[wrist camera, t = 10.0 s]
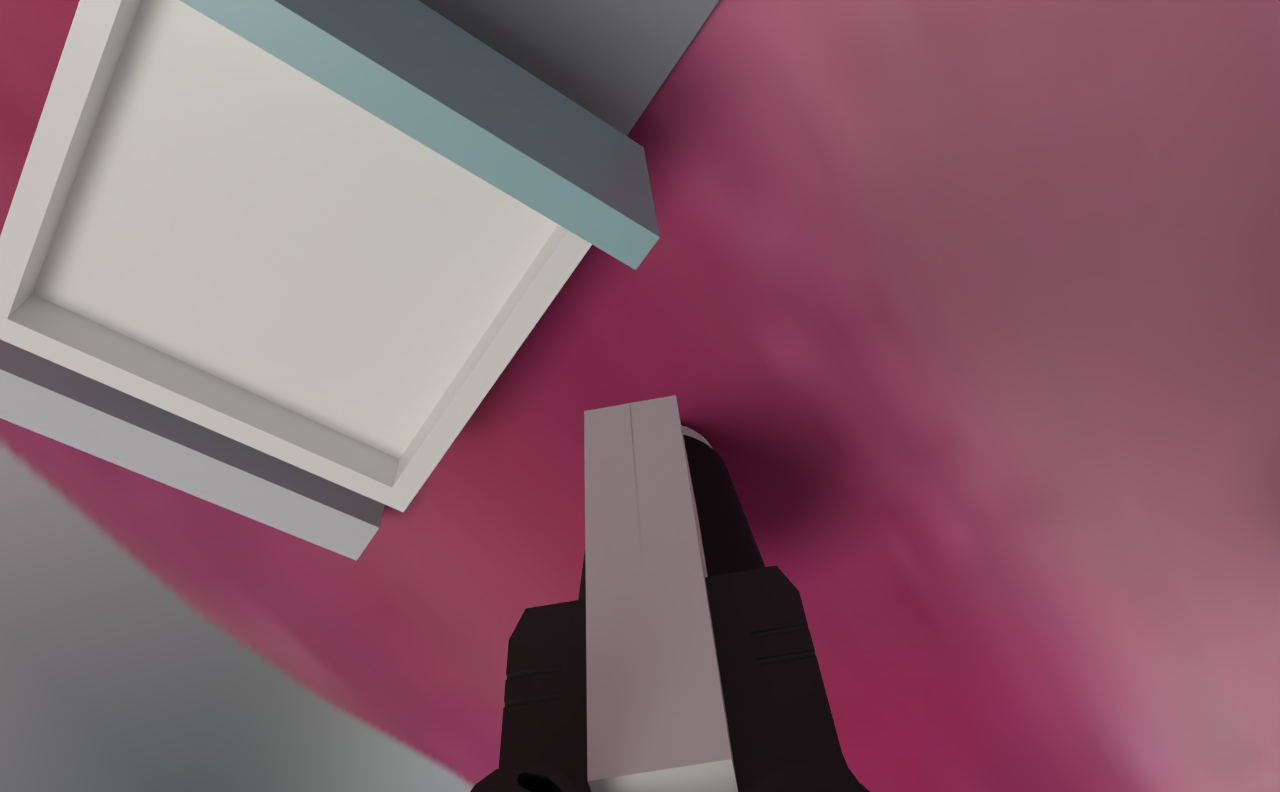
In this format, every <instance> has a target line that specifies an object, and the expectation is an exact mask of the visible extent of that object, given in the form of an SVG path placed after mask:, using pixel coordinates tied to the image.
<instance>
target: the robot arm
mask: <svg viewBox="0 0 1280 792" xmlns="http://www.w3.org/2000/svg"><path fill="white" fill-rule="evenodd" d="M584 450H585V559H586V599H582V600H576V601H570V602H564V603H558V604H551V605H545V606H539V607H533V608H527V609H525V611H524V613H523V615H522V617H521V619H520V620H519V622H518V624H517V626H516V628H515V630H514V632H513V633H512V635H511V637H510V639H509V645H508V658H507V671H506V674H507V680H506V683H505V696H504V702H505V707H504V709H503V722H502V734H501V747H500V760H499V769H496V770H495V771H493V772H492V773H491V774H489V775H488V776H487V777H485V778H484V779H483V780H481V781H480V782H479V783H477V784H476V785H475V786H474V787H473V789H472V790H471V791H470V792H870V791H869V790H867V789H866V788H865V787H864V786H863V785H861V784H860V783H859V782H858V780H857V779H856V778H855V776H854V775H853V774H852V772H851V771H850V770H849V768H848V766H847V764H846V761H845V759H844V756H843V754H842V752H841V748H840V744H839V740H838V736H837V733H836V729H835V725H834V721H833V718H832V714H831V710H830V706H829V703H828V699H827V695H826V691H825V688H824V684H823V680H822V676H821V673H820V669H819V665H818V661H817V658H816V655H815V650H814V646H813V642H812V639H811V635H810V631H809V629H808V624H807V620H806V616H805V612H804V609H803V605H802V601H801V597H800V594H799V591H798V590H797V589H796V587H795V586H794V585H793V584H792V583H791V582H790V581H789V579H788V578H787V577H786V576H785V575H784V574H783V573H782V571H781V570H780V569H779V568H778V567H777V566H772V567H765V568H759V569H753V570H747V571H741V572H735V573H729V574H722V575H716V576H710V577H708V576H707V570H706V563H705V557H704V551H703V545H702V538H701V532H700V526H699V519H698V514H697V509H696V503H695V498H694V492H693V487H692V481H691V476H690V470H689V465H688V459H687V454H686V449H685V443H684V438H683V432H682V427H681V421H680V416H679V410H678V405H677V400H676V395H674V396H669V397H663V398H657V399H651V400H646V401H640V402H634V403H628V404H623V405H617V406H611V407H605V408H600V409H594V410H588V411H584Z"/></svg>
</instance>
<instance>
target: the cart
mask: <svg viewBox="0 0 1280 792" xmlns="http://www.w3.org/2000/svg"><path fill="white" fill-rule="evenodd" d="M659 238H660V235H659V230H658V224H657V219H656V213H655V207H654V202H653V196H652V191H651V185H650V180H649V174H648V169H647V163H646V157H645V152H644V147H642V146H641V145H639V144H638V143H636V142H635V141H633V140H632V139H630V138H629V137H627V136H625V135H624V134H622V133H621V132H619V131H618V130H616V129H615V128H613V127H612V126H610V125H609V124H607V123H606V122H604V121H602V120H601V119H599V118H598V117H596V116H595V115H593V114H592V113H590V112H589V111H587V110H586V109H584V108H583V107H581V106H579V105H578V104H576V103H575V102H573V101H572V100H570V99H569V98H567V97H566V96H564V95H563V94H561V93H560V92H558V91H556V90H555V89H553V88H552V87H550V86H549V85H547V84H546V83H544V82H543V81H541V80H540V79H538V78H537V77H535V76H533V75H532V74H530V73H529V72H527V71H526V70H524V69H523V68H521V67H520V66H518V65H517V64H515V63H514V62H512V61H510V60H509V59H507V58H506V57H504V56H503V55H501V54H500V53H498V52H497V51H495V50H494V49H492V48H491V47H489V46H487V45H486V44H484V43H483V42H481V41H480V40H478V39H477V38H475V37H474V36H472V35H471V34H469V33H468V32H466V31H464V30H463V29H461V28H460V27H458V26H457V25H455V24H454V23H452V22H451V21H449V20H448V19H446V18H445V17H443V16H441V15H440V14H438V13H437V12H435V11H434V10H432V9H431V8H429V7H428V6H426V5H425V4H423V3H422V2H420V1H418V0H80V1H79V4H78V7H77V10H76V13H75V16H74V19H73V22H72V25H71V28H70V31H69V34H68V37H67V40H66V43H65V46H64V49H63V52H62V55H61V58H60V61H59V64H58V67H57V70H56V73H55V76H54V79H53V82H52V85H51V88H50V91H49V94H48V97H47V100H46V103H45V105H44V108H43V111H42V114H41V117H40V120H39V123H38V126H37V129H36V132H35V135H34V138H33V141H32V144H31V147H30V150H29V153H28V156H27V159H26V162H25V165H24V168H23V171H22V174H21V177H20V180H19V183H18V186H17V189H16V192H15V195H14V198H13V201H12V204H11V207H10V210H9V212H8V215H7V218H6V221H5V224H4V227H3V230H2V233H1V236H0V339H1V340H3V341H5V342H8V343H10V344H12V345H15V346H17V347H19V348H22V349H24V350H26V351H29V352H31V353H33V354H36V355H38V356H40V357H43V358H45V359H47V360H50V361H52V362H54V363H56V364H59V365H61V366H63V367H66V368H68V369H70V370H73V371H75V372H77V373H80V374H82V375H84V376H87V377H89V378H91V379H94V380H96V381H98V382H101V383H103V384H105V385H108V386H110V387H112V388H115V389H117V390H119V391H122V392H124V393H126V394H129V395H131V396H133V397H136V398H138V399H140V400H143V401H145V402H147V403H150V404H152V405H154V406H157V407H159V408H161V409H164V410H166V411H168V412H171V413H173V414H175V415H178V416H180V417H182V418H185V419H187V420H189V421H192V422H194V423H196V424H199V425H201V426H203V427H206V428H208V429H210V430H213V431H215V432H217V433H220V434H222V435H224V436H227V437H229V438H231V439H234V440H236V441H238V442H241V443H243V444H245V445H248V446H250V447H252V448H255V449H257V450H259V451H262V452H264V453H266V454H268V455H271V456H273V457H275V458H278V459H280V460H282V461H285V462H287V463H289V464H292V465H294V466H296V467H299V468H301V469H303V470H306V471H308V472H310V473H313V474H315V475H317V476H320V477H322V478H324V479H327V480H329V481H331V482H334V483H336V484H338V485H341V486H343V487H345V488H348V489H350V490H352V491H355V492H357V493H359V494H362V495H364V496H366V497H369V498H371V499H373V500H376V501H378V502H380V503H383V504H385V505H387V506H390V507H392V508H394V509H397V510H399V511H401V512H404V511H405V509H406V508H407V507H408V505H409V504H410V502H411V501H412V499H413V498H414V497H415V495H416V494H417V492H418V491H419V490H420V488H421V487H422V485H423V484H424V482H425V481H426V480H427V478H428V477H429V475H430V474H431V473H432V471H433V470H434V468H435V467H436V465H437V464H438V463H439V461H440V460H441V458H442V457H443V455H444V454H445V453H446V451H447V450H448V448H449V447H450V446H451V444H452V443H453V441H454V440H455V438H456V437H457V436H458V434H459V433H460V431H461V430H462V429H463V427H464V426H465V424H466V423H467V421H468V420H469V419H470V417H471V416H472V414H473V413H474V411H475V410H476V409H477V407H478V406H479V404H480V403H481V402H482V400H483V399H484V397H485V396H486V394H487V393H488V392H489V390H490V389H491V387H492V386H493V385H494V383H495V382H496V380H497V379H498V377H499V376H500V375H501V373H502V372H503V370H504V369H505V368H506V366H507V365H508V363H509V362H510V360H511V359H512V358H513V356H514V355H515V353H516V352H517V350H518V349H519V348H520V346H521V345H522V343H523V342H524V341H525V339H526V338H527V336H528V335H529V333H530V332H531V331H532V329H533V328H534V326H535V325H536V324H537V322H538V321H539V319H540V318H541V316H542V315H543V314H544V312H545V311H546V309H547V308H548V306H549V305H550V304H551V302H552V301H553V299H554V298H555V297H556V295H557V294H558V292H559V291H560V289H561V288H562V287H563V285H564V284H565V282H566V281H567V280H568V278H569V277H570V275H571V274H572V272H573V271H574V270H575V268H576V267H577V265H578V264H579V263H580V261H581V260H582V258H583V257H584V255H585V254H586V253H587V251H588V250H589V248H590V247H591V245H594V246H596V247H597V248H599V249H601V250H602V251H604V252H606V253H608V254H609V255H611V256H613V257H614V258H616V259H618V260H619V261H621V262H623V263H624V264H626V265H628V266H630V267H631V268H633V269H635V270H636V269H637V267H638V266H639V265H640V263H641V262H642V261H643V259H644V258H645V257H646V255H647V254H648V253H649V251H650V250H651V248H652V247H653V246H654V244H655V243H656V242H657V240H658V239H659Z"/></svg>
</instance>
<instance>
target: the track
mask: <svg viewBox="0 0 1280 792" xmlns="http://www.w3.org/2000/svg"><path fill="white" fill-rule="evenodd" d="M418 1H420V2H422V3H423V4H425V5H426V6H428V7H429V8H431V9H432V10H434V11H435V12H437V13H438V14H440V15H441V16H443V17H445V18H446V19H448V20H449V21H451V22H452V23H454V24H455V25H457V26H458V27H460V28H461V29H463V30H464V31H466V32H468V33H469V34H471V35H472V36H474V37H475V38H477V39H478V40H480V41H481V42H483V43H484V44H486V45H487V46H489V47H491V48H492V49H494V50H495V51H497V52H498V53H500V54H501V55H503V56H504V57H506V58H507V59H509V60H510V61H512V62H514V63H515V64H517V65H518V66H520V67H521V68H523V69H524V70H526V71H527V72H529V73H530V74H532V75H533V76H535V77H537V78H538V79H540V80H541V81H543V82H544V83H546V84H547V85H549V86H550V87H552V88H553V89H555V90H556V91H558V92H560V93H561V94H563V95H564V96H566V97H567V98H569V99H570V100H572V101H573V102H575V103H576V104H578V105H579V106H581V107H583V108H584V109H586V110H587V111H589V112H590V113H592V114H593V115H595V116H596V117H598V118H599V119H601V120H602V121H604V122H606V123H607V124H609V125H610V126H612V127H613V128H615V129H616V130H618V131H619V132H621V133H622V134H624V135H625V136H627V135H628V134H629V132H630V131H631V129H632V128H633V126H634V125H635V123H636V122H637V120H638V119H639V117H640V116H641V115H642V113H643V112H644V110H645V109H646V107H647V106H648V104H649V103H650V101H651V100H652V98H653V97H654V95H655V94H656V92H657V91H658V90H659V88H660V87H661V85H662V84H663V82H664V81H665V79H666V78H667V76H668V75H669V73H670V72H671V70H672V69H673V68H674V66H675V65H676V63H677V62H678V60H679V59H680V57H681V56H682V54H683V53H684V51H685V50H686V48H687V47H688V45H689V44H690V43H691V41H692V40H693V38H694V37H695V35H696V34H697V32H698V31H699V29H700V28H701V26H702V25H703V23H704V22H705V20H706V19H707V18H708V16H709V15H710V13H711V12H712V10H713V9H714V7H715V6H716V4H717V3H718V1H719V0H418ZM0 418H2V419H4V420H7V421H9V422H12V423H14V424H17V425H19V426H22V427H24V428H27V429H29V430H32V431H34V432H37V433H39V434H42V435H44V436H47V437H49V438H52V439H54V440H57V441H59V442H62V443H64V444H67V445H69V446H72V447H74V448H77V449H79V450H82V451H84V452H87V453H89V454H92V455H94V456H97V457H99V458H102V459H104V460H107V461H109V462H112V463H114V464H117V465H119V466H122V467H124V468H127V469H129V470H132V471H134V472H137V473H139V474H142V475H144V476H147V477H149V478H152V479H154V480H157V481H159V482H162V483H164V484H167V485H169V486H172V487H174V488H176V489H179V490H181V491H184V492H186V493H189V494H191V495H194V496H196V497H199V498H201V499H204V500H206V501H209V502H211V503H214V504H216V505H219V506H221V507H224V508H226V509H229V510H231V511H234V512H236V513H239V514H241V515H244V516H246V517H249V518H251V519H254V520H256V521H259V522H261V523H264V524H266V525H269V526H271V527H274V528H276V529H279V530H281V531H284V532H286V533H289V534H291V535H294V536H296V537H299V538H301V539H304V540H306V541H309V542H311V543H314V544H316V545H319V546H321V547H324V548H326V549H329V550H331V551H334V552H336V553H339V554H341V555H344V556H346V557H349V558H351V559H354V560H356V561H357V559H358V558H359V556H360V555H361V553H362V552H363V551H364V549H365V548H366V546H367V545H368V543H369V542H370V540H371V539H372V538H373V536H374V535H375V533H376V532H377V530H378V529H379V527H380V523H381V519H382V515H383V511H384V507H385V504H383V503H380V502H378V501H376V500H373V499H371V498H369V497H366V496H364V495H362V494H359V493H357V492H355V491H352V490H350V489H348V488H345V487H343V486H341V485H338V484H336V483H334V482H331V481H329V480H327V479H324V478H322V477H320V476H317V475H315V474H313V473H310V472H308V471H306V470H303V469H301V468H299V467H296V466H294V465H292V464H289V463H287V462H285V461H282V460H280V459H278V458H275V457H273V456H271V455H268V454H266V453H264V452H262V451H259V450H257V449H255V448H252V447H250V446H248V445H245V444H243V443H241V442H238V441H236V440H234V439H231V438H229V437H227V436H224V435H222V434H220V433H217V432H215V431H213V430H210V429H208V428H206V427H203V426H201V425H199V424H196V423H194V422H192V421H189V420H187V419H185V418H182V417H180V416H178V415H175V414H173V413H171V412H168V411H166V410H164V409H161V408H159V407H157V406H154V405H152V404H150V403H147V402H145V401H143V400H140V399H138V398H136V397H133V396H131V395H129V394H126V393H124V392H122V391H119V390H117V389H115V388H112V387H110V386H108V385H105V384H103V383H101V382H98V381H96V380H94V379H91V378H89V377H87V376H84V375H82V374H80V373H77V372H75V371H73V370H70V369H68V368H66V367H63V366H61V365H59V364H56V363H54V362H52V361H50V360H47V359H45V358H43V357H40V356H38V355H36V354H33V353H31V352H29V351H26V350H24V349H22V348H19V347H17V346H15V345H12V344H10V343H8V342H5V341H3V340H1V339H0Z"/></svg>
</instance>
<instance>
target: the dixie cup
mask: <svg viewBox="0 0 1280 792" xmlns="http://www.w3.org/2000/svg"><path fill="white" fill-rule="evenodd" d="M681 427H682V432H683V438H684V443H685V449H686V454H687V459H688V465H689V470H690V476H691V481H692V487H693V492H694V498H695V503H696V509H697V514H698V519H699V526H700V532H701V538H702V545H703V551H704V557H705V563H706V570H707V576H708V577H710V576H716V575H722V574H729V573H735V572H741V571H747V570H753V569H759V568H765V565H764V563H763V560H762V557H761V555H760V552H759V550H758V547H757V545H756V542H755V540H754V537H753V535H752V532H751V530H750V527H749V525H748V522H747V519H746V517H745V514H744V512H743V509H742V507H741V504H740V502H739V499H738V497H737V494H736V492H735V489H734V487H733V484H732V481H731V479H730V476H729V474H728V471H727V469H726V466H725V464H724V462H723V461H722V459H721V458H720V456H719V455H718V454H717V453H716V452H715V451H714V450H713V448H712V447H711V445H710V444H709V442H708V441H707V440H706V439H705V438H704V437H703V436H702V435H700V434H699V433H698V432H696V431H694V430H692V429H690V428H688V427H685V426H682V425H681ZM582 599H586V559H585V555H584V562H583V569H582V577H581V584H580V592H579V599H578V600H582Z"/></svg>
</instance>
